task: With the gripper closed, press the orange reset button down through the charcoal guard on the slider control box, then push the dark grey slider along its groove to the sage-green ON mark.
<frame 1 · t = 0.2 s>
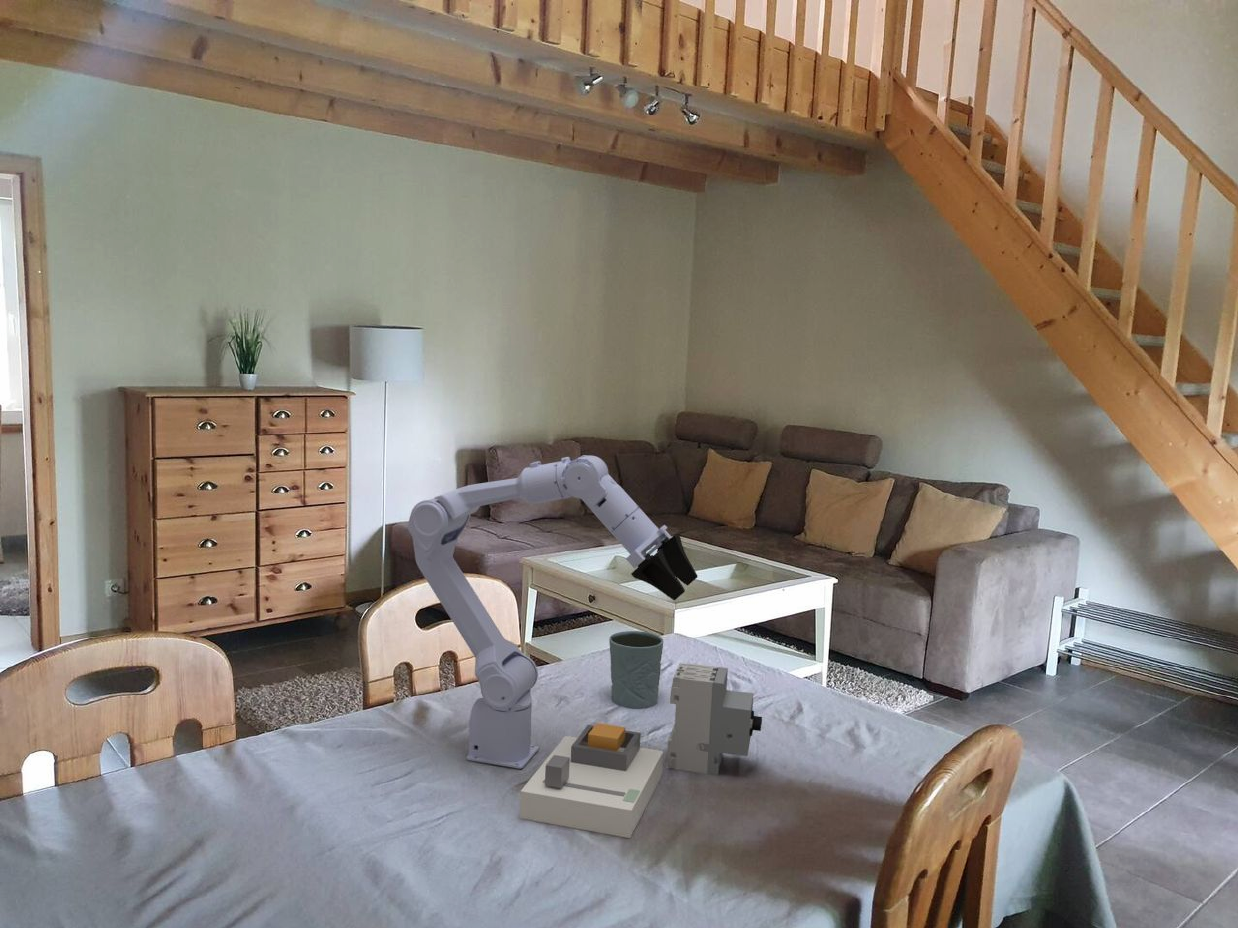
hand: (686, 588, 142), 31 cm above the table, tool tilted 45°, fingers open, 7 cm apart
slider control box: (594, 795, 141), on the table
circuit breaker: (713, 765, 154), on the table
green cylindrical pot: (633, 700, 180), on the table
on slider: (557, 771, 136), point 6 cm above the table, slide at 0.0 cm
reset button: (606, 736, 146), point 7 cm above the table, slide at 0.0 cm
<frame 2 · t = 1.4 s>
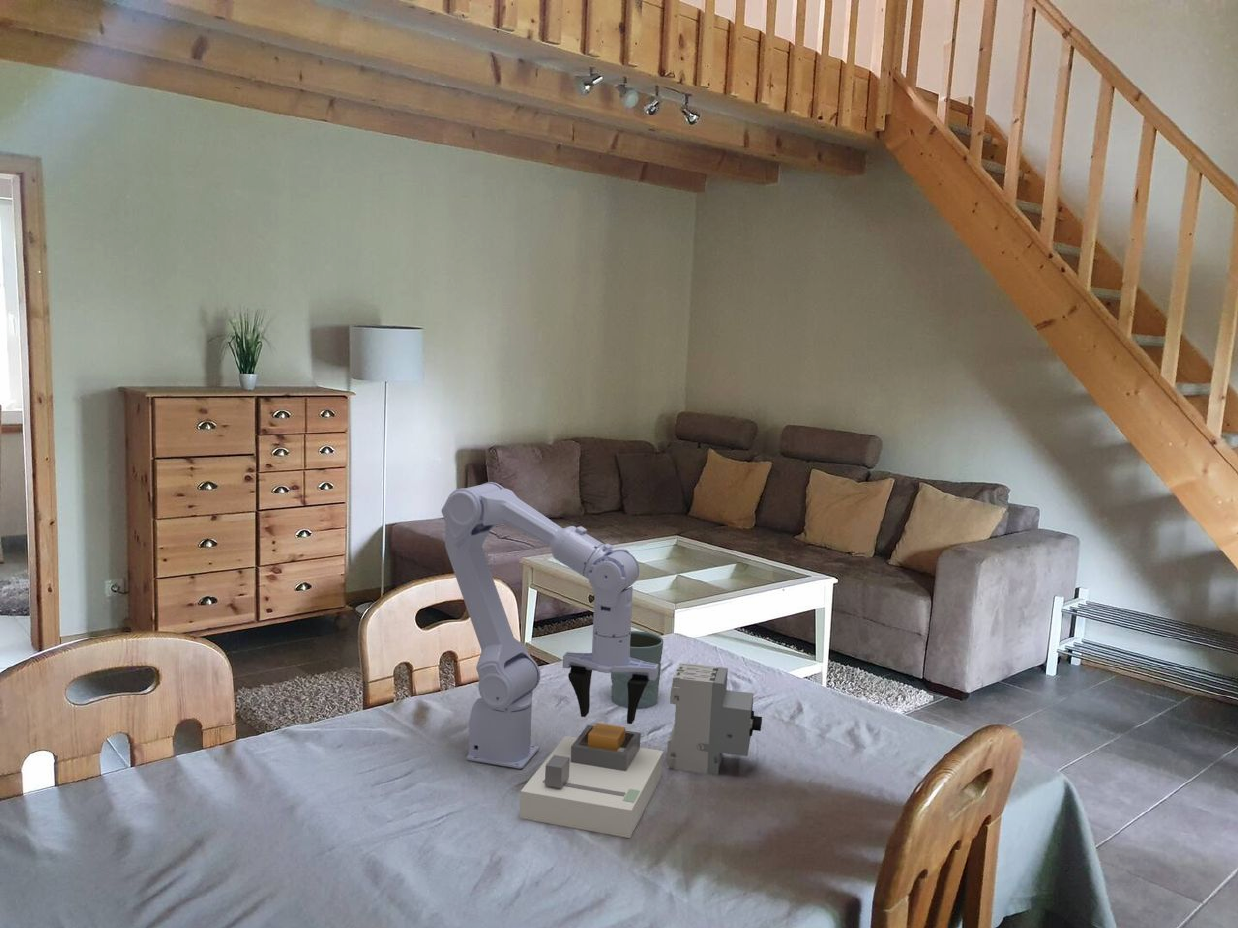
hand: (607, 718, 145), 10 cm above the table, tool pointing down, fingers open, 7 cm apart
nothing on the table moved.
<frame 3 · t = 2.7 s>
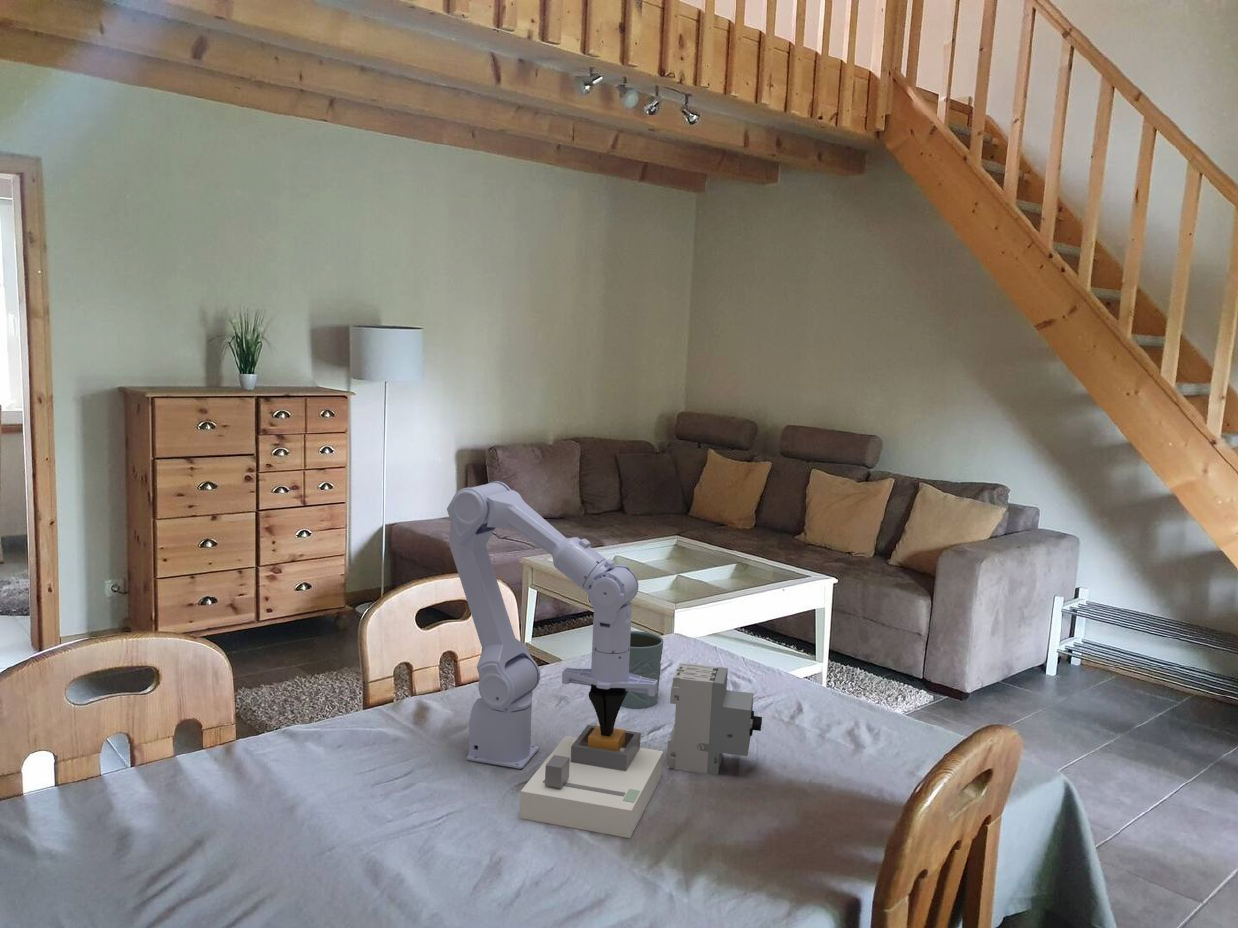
hand: (607, 733, 146), 7 cm above the table, tool pointing down, fingers closed, pressing on reset button
reset button: (606, 739, 146), point 6 cm above the table, slide at 0.4 cm, touching gripper
everything else where it was.
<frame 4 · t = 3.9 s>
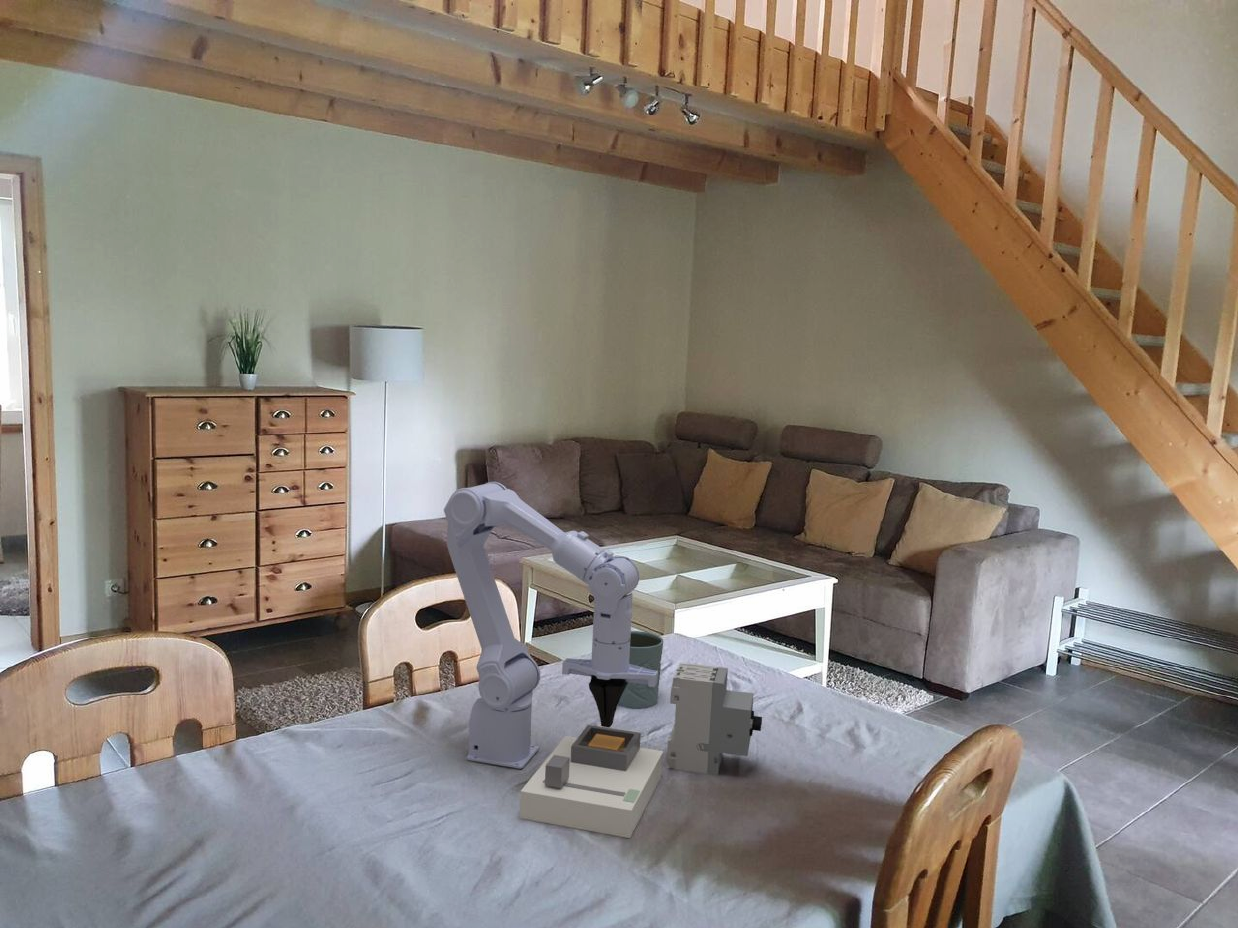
hand: (607, 724, 146), 9 cm above the table, tool pointing down, fingers closed
reset button: (606, 747, 146), point 5 cm above the table, slide at 1.8 cm
everything else where it was.
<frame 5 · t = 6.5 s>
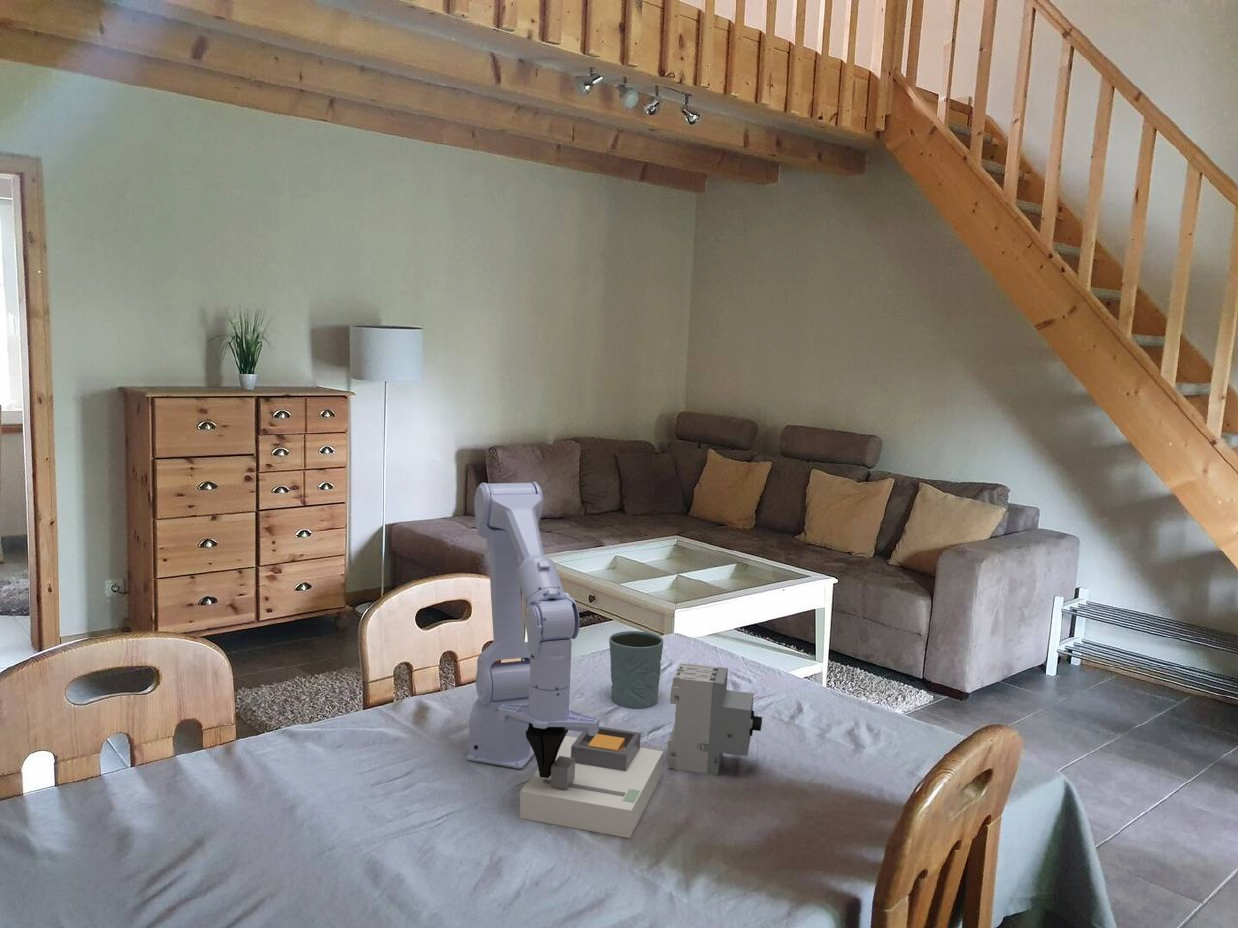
hand: (546, 774, 136), 5 cm above the table, tool pointing down, fingers closed
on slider: (563, 772, 136), point 6 cm above the table, slide at 0.9 cm, touching gripper
everything else where it was.
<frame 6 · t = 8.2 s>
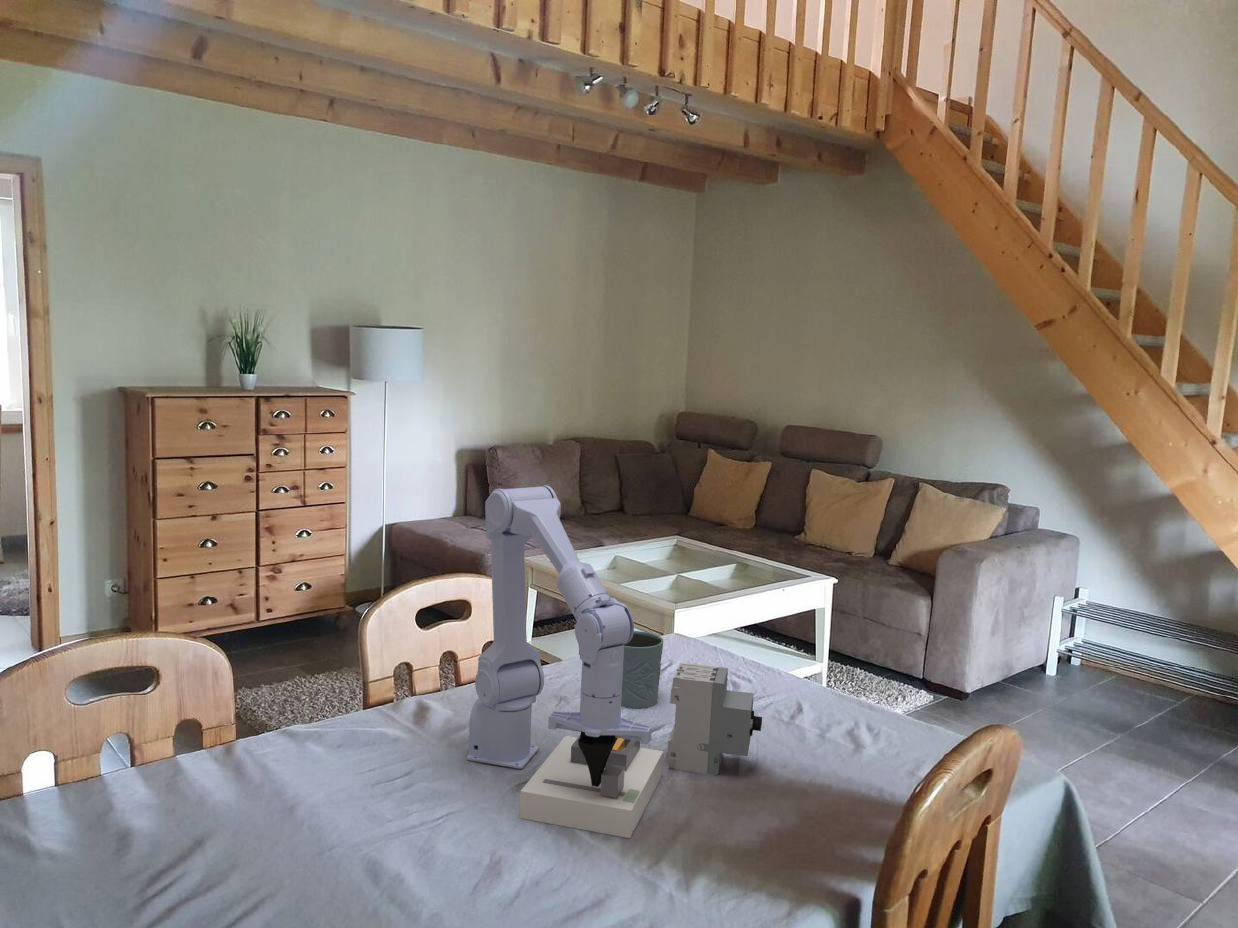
hand: (597, 783, 135), 5 cm above the table, tool pointing down, fingers closed
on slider: (612, 780, 134), point 6 cm above the table, slide at 8.2 cm, touching gripper
everything else where it was.
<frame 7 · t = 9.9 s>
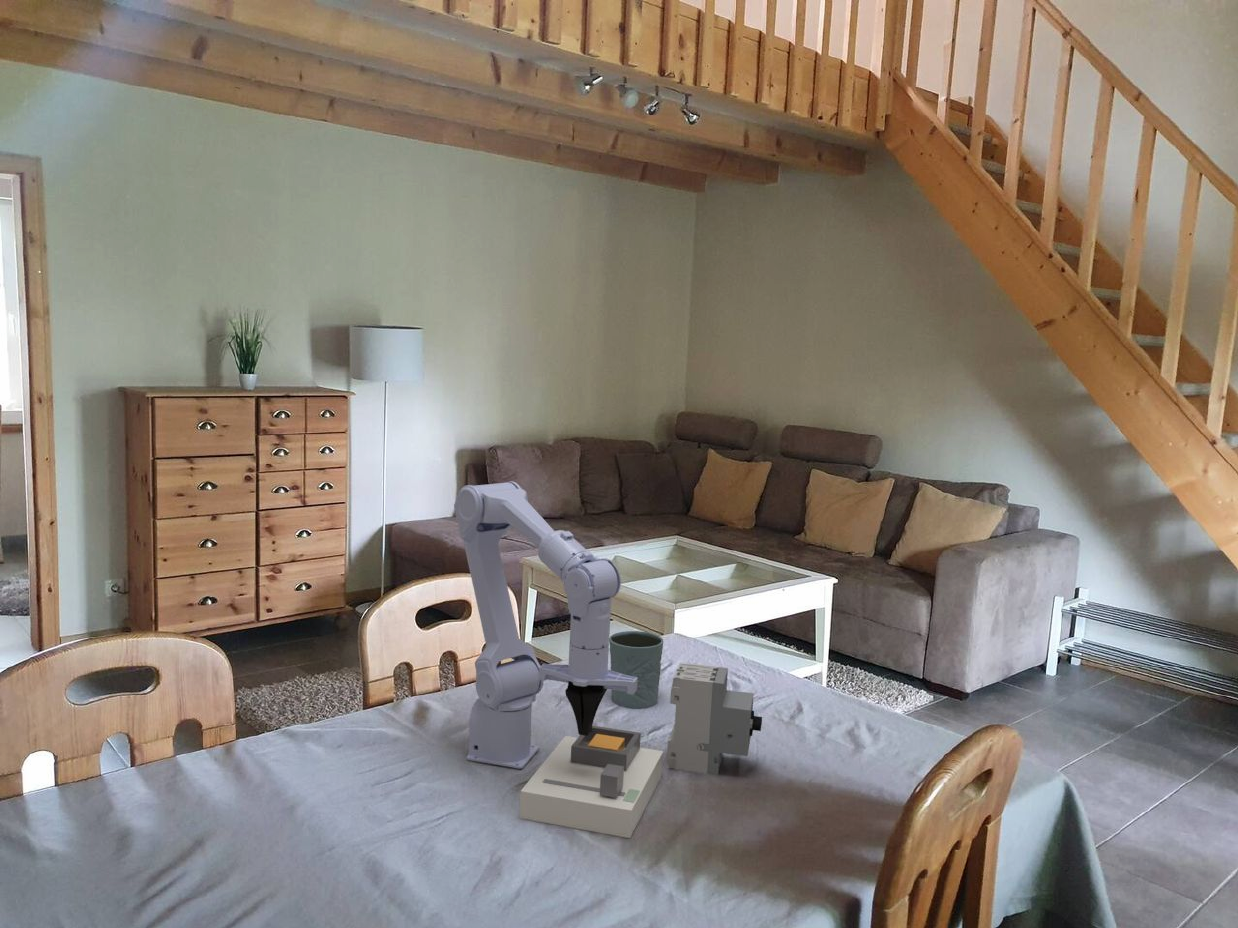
hand: (584, 732, 140), 10 cm above the table, tool pointing down, fingers closed
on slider: (611, 780, 134), point 6 cm above the table, slide at 8.1 cm
everything else where it was.
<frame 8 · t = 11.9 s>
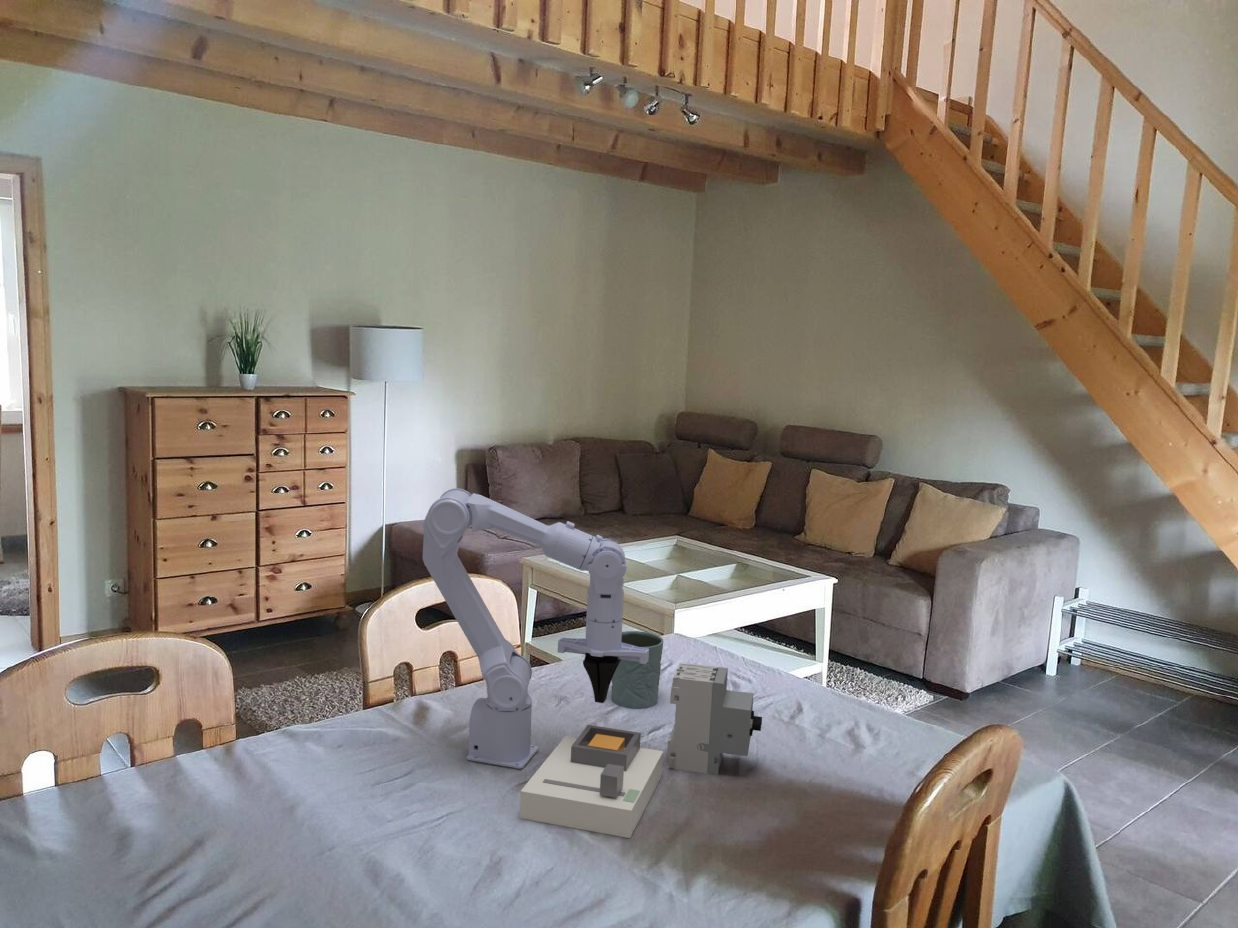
hand: (600, 700, 152), 10 cm above the table, tool pointing down, fingers closed
nothing on the table moved.
at the end: reset button slide at 1.8 cm; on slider slide at 8.1 cm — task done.
